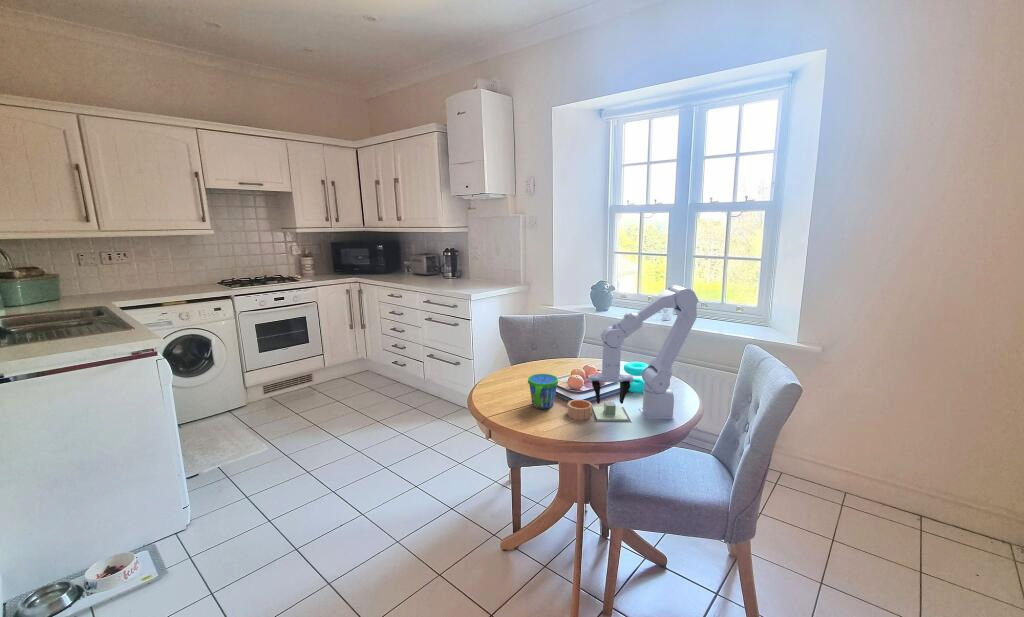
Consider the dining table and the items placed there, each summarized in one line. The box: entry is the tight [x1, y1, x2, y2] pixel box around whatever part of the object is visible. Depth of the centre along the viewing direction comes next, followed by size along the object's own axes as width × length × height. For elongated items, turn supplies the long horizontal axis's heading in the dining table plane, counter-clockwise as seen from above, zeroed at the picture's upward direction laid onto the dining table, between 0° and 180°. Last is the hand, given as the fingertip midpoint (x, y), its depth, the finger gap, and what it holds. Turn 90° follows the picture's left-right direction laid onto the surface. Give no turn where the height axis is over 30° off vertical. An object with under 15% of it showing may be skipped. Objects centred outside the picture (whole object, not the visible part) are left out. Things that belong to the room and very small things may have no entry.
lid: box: [592, 401, 628, 421], centre depth 145 cm, size 10×10×4 cm
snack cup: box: [527, 373, 559, 410], centre depth 153 cm, size 16×10×10 cm
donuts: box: [623, 361, 649, 394], centre depth 168 cm, size 10×10×10 cm
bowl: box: [566, 399, 593, 421], centre depth 146 cm, size 8×8×4 cm
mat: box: [591, 406, 633, 423], centre depth 146 cm, size 12×12×1 cm
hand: (609, 402), depth 145 cm, fingers open, 7 cm apart
